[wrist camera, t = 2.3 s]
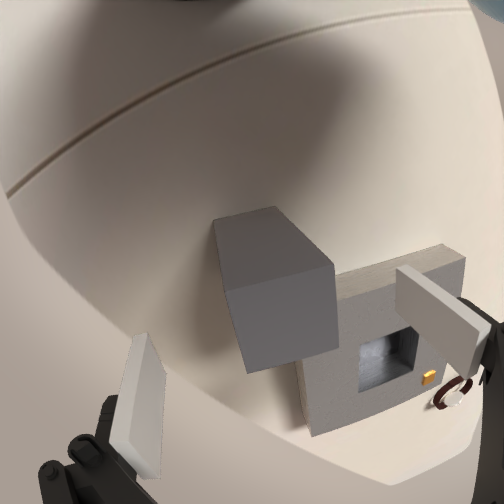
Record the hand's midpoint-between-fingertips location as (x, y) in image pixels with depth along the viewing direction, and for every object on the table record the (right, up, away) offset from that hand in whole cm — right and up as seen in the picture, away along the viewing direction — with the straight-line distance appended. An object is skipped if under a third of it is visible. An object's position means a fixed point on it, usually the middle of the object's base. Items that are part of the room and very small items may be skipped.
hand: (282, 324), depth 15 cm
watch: (+31, -18, +25) cm, 43 cm away
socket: (+12, -6, +17) cm, 21 cm away
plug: (-2, +4, +11) cm, 12 cm away
